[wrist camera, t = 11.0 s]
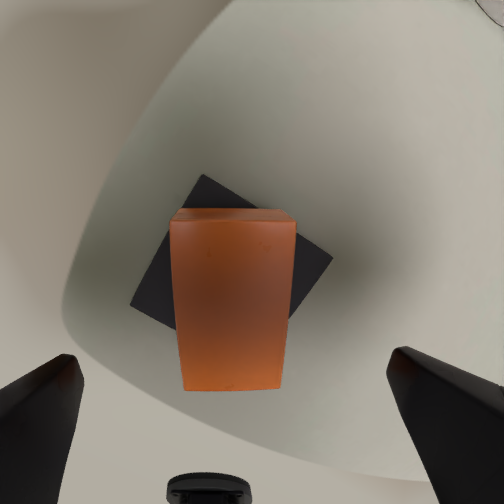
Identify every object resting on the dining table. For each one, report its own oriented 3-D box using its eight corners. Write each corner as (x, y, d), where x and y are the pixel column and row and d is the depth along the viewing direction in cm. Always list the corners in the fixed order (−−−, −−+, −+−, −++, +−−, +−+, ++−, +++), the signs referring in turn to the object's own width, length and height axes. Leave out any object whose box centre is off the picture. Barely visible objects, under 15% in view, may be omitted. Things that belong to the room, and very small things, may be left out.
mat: (251, 361, 15) (252, 365, 15) (131, 301, 13) (129, 305, 13) (330, 255, 14) (334, 258, 13) (202, 173, 12) (202, 174, 12)
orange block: (271, 345, 14) (284, 388, 11) (186, 346, 14) (180, 391, 11) (281, 205, 12) (302, 221, 9) (178, 204, 12) (164, 220, 9)
